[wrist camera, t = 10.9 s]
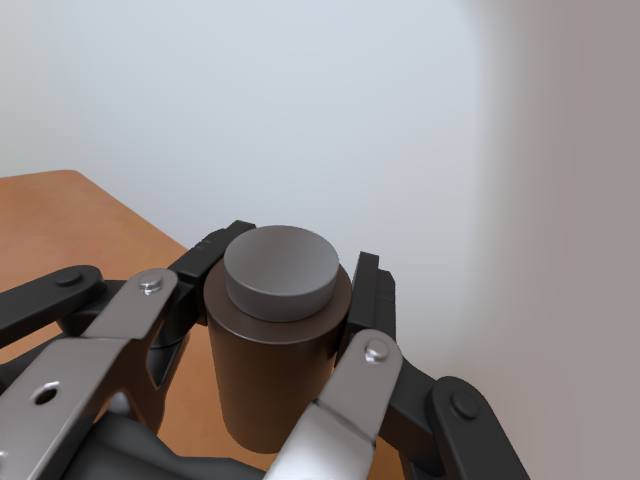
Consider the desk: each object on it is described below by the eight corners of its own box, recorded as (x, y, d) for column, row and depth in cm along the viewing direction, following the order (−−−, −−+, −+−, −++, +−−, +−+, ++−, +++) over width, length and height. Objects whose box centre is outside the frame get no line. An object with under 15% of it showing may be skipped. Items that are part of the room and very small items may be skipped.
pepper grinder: (325, 357, 13) (358, 228, 9) (315, 464, 10) (363, 332, 5) (243, 342, 13) (237, 207, 9) (202, 443, 10) (158, 295, 5)
